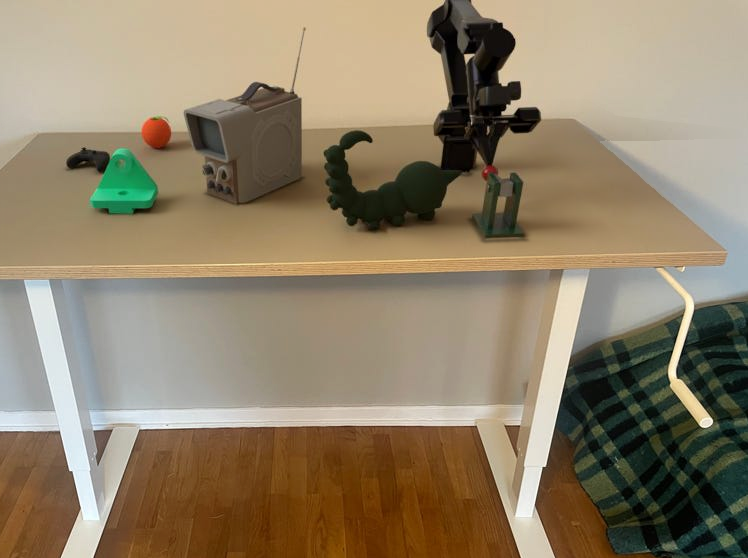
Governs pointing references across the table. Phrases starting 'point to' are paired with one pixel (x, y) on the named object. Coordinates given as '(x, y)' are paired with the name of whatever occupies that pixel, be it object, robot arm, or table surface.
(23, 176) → the table surface
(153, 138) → the clementine
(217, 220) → the table surface
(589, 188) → the table surface
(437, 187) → the toy figurine
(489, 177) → the bracket
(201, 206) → the table surface
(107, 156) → the gaming controller
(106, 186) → the camera mount
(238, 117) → the portable television
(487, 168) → the lever
